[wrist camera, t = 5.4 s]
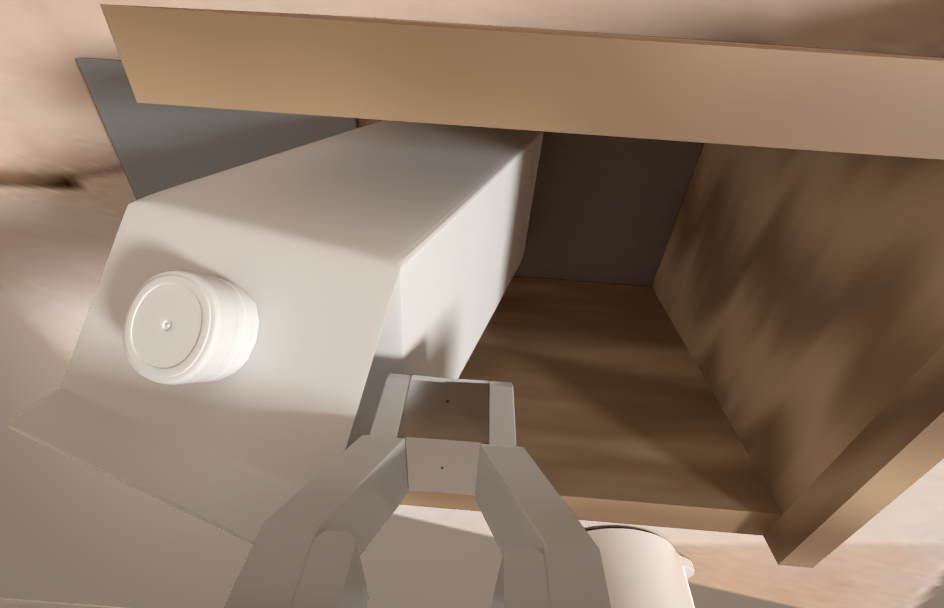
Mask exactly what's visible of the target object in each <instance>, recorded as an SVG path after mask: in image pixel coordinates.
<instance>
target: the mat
mask: <svg viewBox="0 0 944 608" xmlns="http://www.w3.org/2000/svg"><path fill="white" fill-rule="evenodd" d="M76 61H77V63H78V65H79V68H80V70H81V72H82V75H83V77H84V79H85V81H86V84H87V86H88V88H89V91H90V93H91V95H92V98H93V100H94V102H95V105H96V107H97V109H98V112H99V114H100V116H101V118H102V121H103V123H104V125H105V128H106V130H107V132H108V135H109V137H110V139H111V142H112V144H113V146H114V148H115V151H116V153H117V155H118V158H119V160H120V162H121V165H122V167H123V169H124V172H125V174H126V176H127V179H128V181H129V183H130V185H131V188H132V190H133V192H134V195H135V197H136V199H137V200H138V199H141V198H143V197H146V196H148V195H151V194H154V193H157V192H160V191H162V190H165V189H168V188H172V187H175V186H178V185H181V184H184V183H187V182H190V181H193V180H196V179H199V178H203V177H206V176H209V175H212V174H215V173H218V172H221V171H225V170H228V169H231V168H234V167H237V166H240V165H244V164H247V163H250V162H253V161H256V160H259V159H262V158H266V157H269V156H272V155H275V154H278V153H281V152H284V151H288V150H291V149H294V148H297V147H300V146H303V145H306V144H310V143H313V142H316V141H319V140H322V139H325V138H328V137H332V136H335V135H338V134H341V133H344V132H347V131H350V130H354V129H357V128H358V122H357V118H347V117H333V116H319V115H305V114H291V113H277V112H263V111H249V110H234V109H220V108H206V107H192V106H178V105H164V104H150V103H137V101H136V98H135V95H134V93H133V90H132V87H131V85H130V82H129V80H128V77H127V74H126V72H125V69H124V66H123V64H122V61H121V60H109V59H94V58H76Z"/></svg>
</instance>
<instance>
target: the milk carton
mask: <svg viewBox="0 0 944 608" xmlns="http://www.w3.org/2000/svg"><path fill="white" fill-rule="evenodd" d="M542 140H543V131H531V130H517V129H503V128H489V127H475V126H460V125H446V124H432V123H418V122H404V121H390V120H382V121H379V122H376V123H372V124H369V125H366V126H363V127H360V128H357V129H354V130H350V131H347V132H344V133H341V134H338V135H335V136H332V137H328V138H325V139H322V140H319V141H316V142H313V143H310V144H306V145H303V146H300V147H297V148H294V149H291V150H288V151H284V152H281V153H278V154H275V155H272V156H269V157H266V158H262V159H259V160H256V161H253V162H250V163H247V164H244V165H240V166H237V167H234V168H231V169H228V170H225V171H221V172H218V173H215V174H212V175H209V176H206V177H203V178H199V179H196V180H193V181H190V182H187V183H184V184H181V185H178V186H175V187H172V188H168V189H165V190H162V191H160V192H157V193H154V194H151V195H148V196H146V197H143V198H141V199H138V200H136V201H133V202H132V203H129V205H128V206H127V209H126V211H125V213H124V216H123V219H122V221H121V224H120V227H119V229H118V232H117V235H116V238H115V240H114V243H113V246H112V249H111V251H110V254H109V257H108V260H107V262H106V265H105V268H104V270H103V273H102V276H101V279H100V281H99V284H98V287H97V290H96V292H95V295H94V298H93V301H92V303H91V306H90V309H89V312H88V314H87V317H86V320H85V323H84V325H83V328H82V331H81V334H80V336H79V339H78V342H77V344H76V347H75V350H74V353H73V355H72V358H71V361H70V364H69V366H68V369H67V372H66V375H65V378H64V380H63V383H62V385H61V388H60V389H58V390H56V391H55V392H53V393H51V394H50V395H48V396H46V397H45V398H43V399H41V400H39V401H38V402H36V403H34V404H33V405H32V406H30V407H28V408H26V409H25V410H23V411H21V412H20V413H18V414H16V415H15V416H13V417H11V418H10V419H8V420H7V421H5V423H6V424H7V426H8V427H9V429H11V430H13V431H15V432H17V433H19V434H22V435H24V436H26V437H28V438H30V439H32V440H34V441H36V442H38V443H41V444H43V445H45V446H47V447H49V448H51V449H53V450H55V451H58V452H59V453H62V454H64V455H66V456H68V457H70V458H72V459H74V460H76V461H79V462H81V463H83V464H85V465H87V466H89V467H91V468H93V469H96V470H98V471H100V472H102V473H104V474H106V475H108V476H110V477H113V478H114V479H116V480H119V481H121V482H123V483H125V484H127V485H129V486H131V487H133V488H135V489H138V490H140V491H142V492H144V493H146V494H148V495H150V496H152V497H155V498H157V499H159V500H161V501H163V502H165V503H167V504H169V505H171V506H173V507H176V508H178V509H180V510H182V511H184V512H186V513H188V514H190V515H192V516H195V517H197V518H199V519H201V520H203V521H205V522H207V523H209V524H212V525H214V526H216V527H218V528H220V529H222V530H224V531H226V532H228V533H231V534H233V535H235V536H237V537H239V538H241V539H243V540H245V541H248V542H249V543H252V544H253V543H254V541H255V539H256V537H257V535H258V533H259V530H260V528H261V526H262V524H263V522H264V521H265V520H267V519H268V518H269V517H270V516H271V515H272V514H273V513H275V512H276V511H277V510H278V509H279V508H280V507H281V506H282V505H284V504H285V503H286V502H287V501H288V500H289V499H290V498H292V497H293V496H294V495H295V494H296V493H297V492H298V491H299V490H301V489H302V488H303V487H304V486H305V485H306V484H307V483H308V482H310V481H311V480H312V479H313V478H314V477H315V476H316V475H318V474H319V473H320V472H321V471H322V470H323V469H324V468H325V467H327V466H328V465H329V464H330V463H331V462H332V461H333V460H335V459H336V458H337V457H338V456H339V455H340V454H341V453H342V452H344V451H345V450H346V449H347V448H348V447H349V446H350V445H352V444H353V443H354V442H355V441H356V440H357V439H358V438H359V437H361V436H362V435H370V431H371V428H372V425H373V421H374V418H375V415H376V411H377V408H378V405H379V401H380V398H381V394H382V391H383V388H384V384H385V381H386V378H387V377H388V375H389V374H390V373H393V374H404V375H418V376H428V377H438V378H453V379H458V378H459V376H460V374H461V372H462V370H463V369H464V367H465V365H466V363H467V361H468V359H469V357H470V356H471V354H472V352H473V350H474V348H475V346H476V345H477V343H478V341H479V339H480V337H481V335H482V333H483V332H484V330H485V328H486V326H487V324H488V322H489V321H490V319H491V317H492V315H493V313H494V311H495V309H496V308H497V306H498V304H499V302H500V300H501V298H502V296H503V295H504V293H505V291H506V289H507V287H508V285H509V284H510V282H511V280H512V278H513V276H514V274H515V272H516V271H517V269H518V267H519V265H520V263H521V261H522V259H523V255H524V249H525V243H526V237H527V231H528V225H529V219H530V213H531V207H532V201H533V194H534V188H535V182H536V176H537V170H538V164H539V158H540V152H541V146H542Z"/></svg>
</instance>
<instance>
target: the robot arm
mask: <svg viewBox="0 0 944 608" xmlns="http://www.w3.org/2000/svg"><path fill="white" fill-rule="evenodd" d="M408 491H425V492H443V493H453V494H463V495H473V496H475V500H476V502H477V504H478V506H479V508H480V510H481V512H482V514H483V516H484V518H485V520H486V522H487V524H488V526H489V528H490V530H491V532H492V534H493V536H494V538H495V540H496V542H497V544H498V546H499V548H500V550H501V552H502V554H503V558H502V562H501V566H500V570H499V575H498V579H497V583H496V587H495V591H494V595H493V599H492V603H491V608H695V607H694V603H693V600H692V596H691V592H690V588H689V584H688V581H687V579H688V578H689V577H691V576H692V575H693V574H694V567H693V563H692V562H691V561H690V560H688V559H687V558H685V557H683V556H681V555H679V554H678V553H677V552H676V550H675V549H674V547H673V546H672V545H671V544H670V543H669V542H668V541H667V540H665V539H663V538H662V537H660V536H657V535H655V534H652V533H649V532H645V531H640V530H634V529H623V528H608V529H597V530H591V531H586V530H585V529H584V527H583V526H582V525H581V523H580V522H579V521H578V519H577V518H576V517H575V515H574V514H573V513H572V511H571V510H570V509H569V507H568V506H567V505H566V503H565V502H564V501H563V499H562V498H561V496H560V495H559V494H558V492H557V491H556V490H555V488H554V487H553V486H552V484H551V483H550V482H549V480H548V479H547V478H546V476H545V475H544V474H543V472H542V471H541V470H540V468H539V467H538V466H537V464H536V463H535V462H534V460H533V459H532V458H531V456H530V455H529V454H528V452H527V451H526V450H525V448H524V447H518V446H517V445H516V426H515V408H514V390H513V385H512V383H511V382H497V381H484V380H468V379H453V378H438V377H428V376H418V375H404V374H393V373H390V374H389V375H388V377H387V378H386V381H385V384H384V388H383V391H382V394H381V398H380V401H379V405H378V408H377V411H376V415H375V418H374V421H373V425H372V428H371V431H370V435H362V436H361V437H359V438H358V439H357V440H356V441H355V442H354V443H353V444H352V445H350V446H349V447H348V448H347V449H346V450H345V451H344V452H342V453H341V454H340V455H339V456H338V457H337V458H336V459H335V460H333V461H332V462H331V463H330V464H329V465H328V466H327V467H325V468H324V469H323V470H322V471H321V472H320V473H319V474H318V475H316V476H315V477H314V478H313V479H312V480H311V481H310V482H308V483H307V484H306V485H305V486H304V487H303V488H302V489H301V490H299V491H298V492H297V493H296V494H295V495H294V496H293V497H292V498H290V499H289V500H288V501H287V502H286V503H285V504H284V505H282V506H281V507H280V508H279V509H278V510H277V511H276V512H275V513H273V514H272V515H271V516H270V517H269V518H268V519H267V520H265V521H264V522H263V524H262V526H261V528H260V530H259V533H258V535H257V537H256V539H255V541H254V543H253V546H252V548H251V550H250V552H249V554H248V557H247V559H246V561H245V563H244V565H243V567H242V570H241V572H240V574H239V576H238V578H237V581H236V583H235V585H234V587H233V589H232V591H231V594H230V596H229V598H228V600H227V602H226V604H225V607H224V608H367V605H368V599H369V596H368V592H367V588H366V583H365V579H364V574H363V570H362V565H361V561H360V555H361V554H362V552H363V551H364V550H365V548H366V547H367V546H368V544H369V543H370V542H371V541H372V539H373V538H374V537H375V535H376V534H377V533H378V532H379V530H380V529H381V528H382V526H383V525H384V524H385V522H386V521H387V520H388V518H389V517H390V516H391V515H392V513H393V512H394V511H395V510H396V508H397V507H398V506H399V504H400V503H401V502H402V500H403V499H404V498H405V497H406V495H407V494H408ZM0 608H128V607H114V606H101V605H88V604H75V603H62V602H47V601H35V600H34V601H33V600H22V599H8V598H0Z"/></svg>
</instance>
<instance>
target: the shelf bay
mask: <svg viewBox="0 0 944 608" xmlns="http://www.w3.org/2000/svg"><path fill="white" fill-rule="evenodd" d="M100 6H101V8H102V11H103V13H104V16H105V19H106V21H107V24H108V27H109V29H110V32H111V35H112V37H113V40H114V43H115V45H116V48H117V50H118V53H119V56H120V58H121V61H122V64H123V66H124V69H125V72H126V74H127V77H128V80H129V82H130V85H131V87H132V90H133V93H134V95H135V98H136V101H137V103H150V104H164V105H178V106H192V107H206V108H220V109H234V110H249V111H263V112H277V113H291V114H305V115H319V116H333V117H347V118H362V119H376V120H390V121H404V122H418V123H432V124H446V125H460V126H475V127H489V128H503V129H517V130H531V131H545V132H559V133H573V134H588V135H602V136H616V137H630V138H644V139H658V140H672V141H686V142H701V143H704V145H703V148H702V151H701V154H700V156H699V159H698V162H697V164H696V167H695V170H694V173H693V175H692V178H691V181H690V184H689V186H688V189H687V192H686V195H685V197H684V200H683V203H682V205H681V208H680V211H679V214H678V216H677V219H676V222H675V225H674V227H673V230H672V233H671V236H670V238H669V241H668V244H667V247H666V249H665V252H664V255H663V257H662V260H661V263H660V266H659V268H658V271H657V274H656V277H655V279H654V282H653V285H652V287H646V286H633V285H620V284H607V283H594V282H581V281H568V280H554V279H541V278H528V277H515V276H513V278H512V280H511V282H510V284H509V285H508V287H507V289H506V291H505V293H504V295H503V296H502V298H501V300H500V302H499V304H498V306H497V308H496V309H495V311H494V313H493V315H492V317H491V319H490V321H489V322H488V324H487V326H486V328H485V330H484V332H483V333H482V335H481V337H480V339H479V341H478V343H477V345H476V346H475V348H474V350H473V352H472V354H471V356H470V357H469V359H468V361H467V363H466V365H465V367H464V369H463V370H462V372H461V374H460V376H459V378H458V379H468V380H484V381H497V382H511V383H512V385H513V390H514V408H515V426H516V445H517V446H518V447H524V448H525V450H526V451H527V452H528V454H529V455H530V456H531V458H532V459H533V460H534V462H535V463H536V464H537V466H538V467H539V468H540V470H541V471H542V472H543V474H544V475H545V476H546V478H547V479H548V480H549V482H550V483H551V484H552V486H553V487H554V488H555V490H556V491H557V492H558V494H559V495H560V496H561V498H562V499H563V501H564V502H565V503H566V505H567V506H568V507H569V509H570V510H571V511H572V513H573V514H574V515H575V517H576V518H577V519H578V520H588V521H600V522H612V523H624V524H635V525H647V526H659V527H671V528H682V529H694V530H706V531H718V532H729V533H741V534H753V535H763V536H764V538H765V540H766V542H767V544H768V546H769V548H770V550H771V552H772V553H773V555H774V557H775V559H776V561H777V563H778V565H787V566H798V567H810V568H813V567H814V566H815V565H817V564H818V563H819V562H820V561H821V560H823V559H824V558H825V557H826V556H827V555H829V554H830V553H831V552H832V551H833V550H835V549H836V548H837V547H838V546H839V545H840V544H842V543H843V542H844V541H845V540H846V539H848V538H849V537H850V536H851V535H852V534H854V533H855V532H856V531H857V530H858V529H860V528H861V527H862V526H863V525H864V524H866V523H867V522H868V521H869V520H870V519H872V518H873V517H874V516H875V515H876V514H878V513H879V512H880V511H881V510H882V509H884V508H885V507H886V506H887V505H888V504H890V503H891V502H892V501H893V500H894V499H896V498H897V497H898V496H899V495H900V494H902V493H903V492H904V491H905V490H906V489H908V488H909V487H910V486H911V485H912V484H914V483H915V482H916V481H917V480H918V479H920V478H921V477H922V476H923V475H924V474H926V473H927V472H928V471H929V470H930V469H931V468H933V467H934V466H935V465H936V464H937V463H939V462H940V461H941V460H942V459H943V458H944V58H940V57H927V56H914V55H901V54H888V53H875V52H862V51H849V50H836V49H823V48H810V47H797V46H784V45H771V44H756V43H741V42H726V41H711V40H697V39H682V38H667V37H652V36H637V35H622V34H607V33H592V32H577V31H562V30H547V29H532V28H517V27H502V26H488V25H473V24H458V23H443V22H428V21H413V20H398V19H383V18H368V17H352V16H331V15H310V14H290V13H269V12H249V11H228V10H208V9H187V8H167V7H146V6H126V5H105V4H100ZM400 505H412V506H424V507H436V508H447V509H459V510H471V511H481V510H480V508H479V506H478V504H477V502H476V500H475V496H473V495H463V494H453V493H443V492H425V491H408V494H407V495H406V497H405V498H404V499H403V500H402V502H401V503H400Z"/></svg>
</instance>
